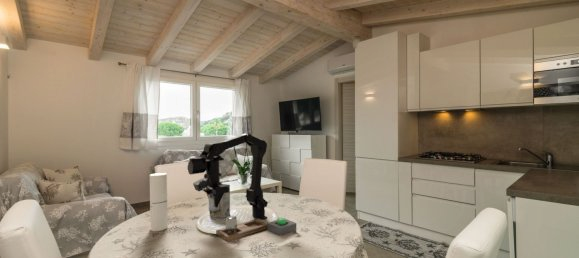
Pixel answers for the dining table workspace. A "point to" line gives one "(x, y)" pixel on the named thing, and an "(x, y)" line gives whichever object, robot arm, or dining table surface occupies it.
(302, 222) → the dining table surface
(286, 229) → the button housing
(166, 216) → the cylindrical container
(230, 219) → the billet seated
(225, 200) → the coffee box
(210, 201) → the billet loose
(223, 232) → the brown wooden pocket tray
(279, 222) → the button
